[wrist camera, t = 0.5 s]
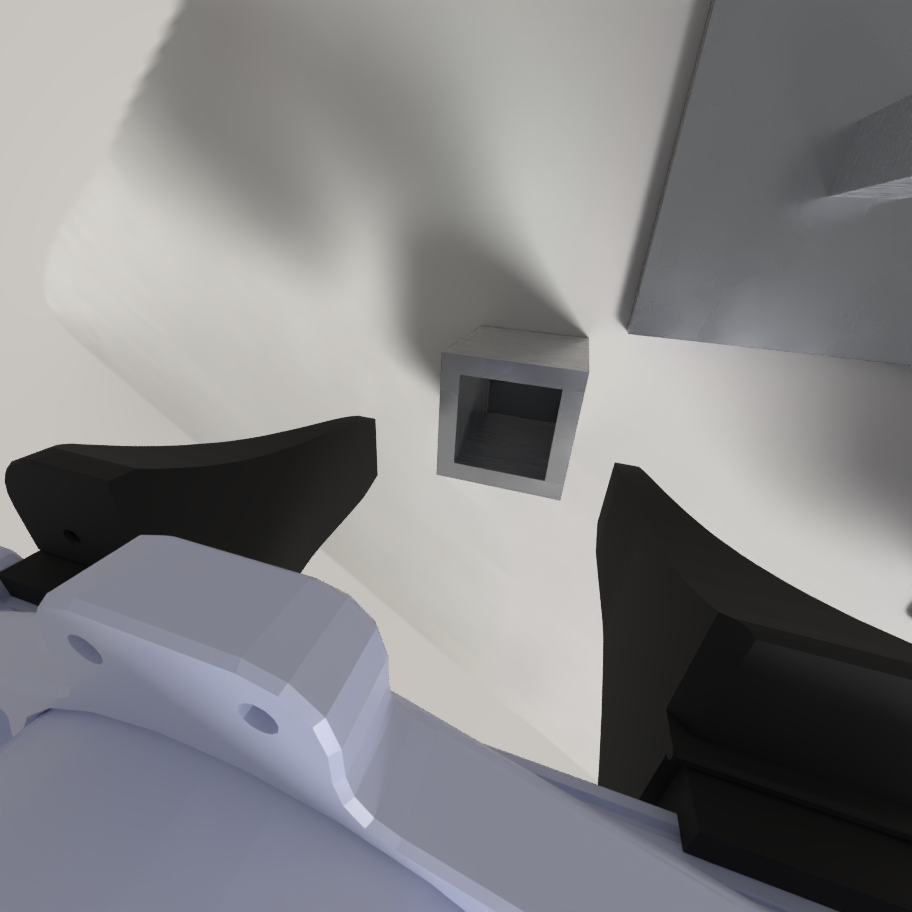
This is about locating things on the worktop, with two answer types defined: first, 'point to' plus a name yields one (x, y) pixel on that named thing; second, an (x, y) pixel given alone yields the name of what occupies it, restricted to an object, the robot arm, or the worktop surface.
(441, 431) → the sleeve
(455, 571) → the worktop surface
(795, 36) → the duct flange
